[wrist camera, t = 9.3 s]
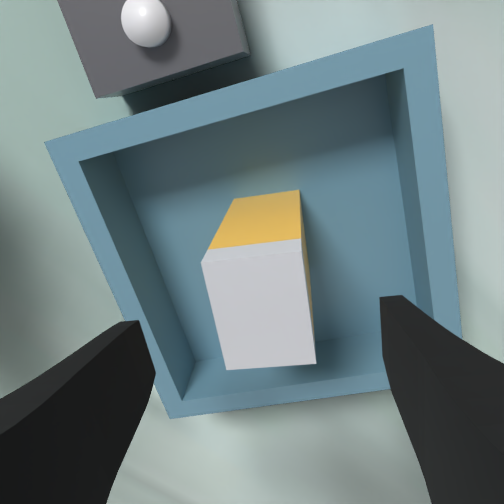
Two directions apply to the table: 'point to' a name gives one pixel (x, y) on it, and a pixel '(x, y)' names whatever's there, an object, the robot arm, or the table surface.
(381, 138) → the parts tray
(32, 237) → the table surface
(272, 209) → the block
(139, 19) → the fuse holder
